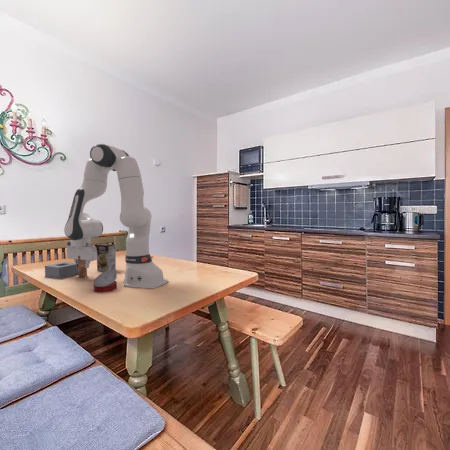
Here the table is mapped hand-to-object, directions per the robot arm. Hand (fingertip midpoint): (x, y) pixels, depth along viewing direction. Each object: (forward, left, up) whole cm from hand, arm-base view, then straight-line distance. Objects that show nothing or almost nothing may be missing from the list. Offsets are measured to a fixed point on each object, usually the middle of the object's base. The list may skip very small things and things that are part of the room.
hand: (82, 267), depth 140 cm
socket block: (+14, +2, -5) cm, 15 cm away
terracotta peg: (0, 0, -5) cm, 5 cm away
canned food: (-30, +11, -6) cm, 33 cm away
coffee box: (0, -16, -5) cm, 17 cm away
